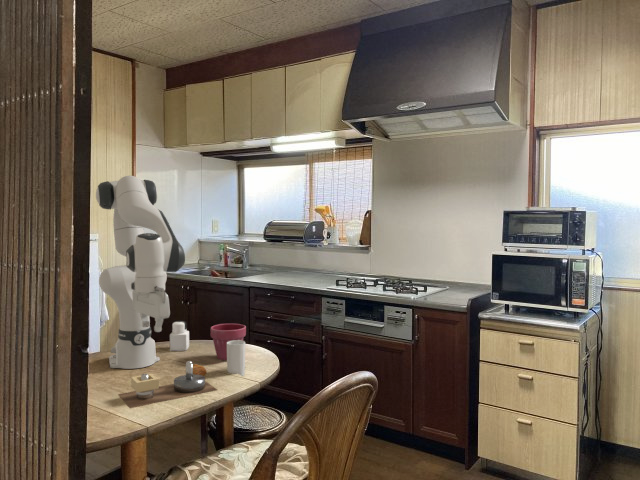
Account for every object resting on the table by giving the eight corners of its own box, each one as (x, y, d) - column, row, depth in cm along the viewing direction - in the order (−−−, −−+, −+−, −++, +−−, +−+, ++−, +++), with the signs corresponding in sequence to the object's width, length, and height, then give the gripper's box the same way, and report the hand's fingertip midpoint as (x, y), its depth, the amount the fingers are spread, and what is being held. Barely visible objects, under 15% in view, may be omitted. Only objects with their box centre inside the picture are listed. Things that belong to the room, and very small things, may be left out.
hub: (169, 386, 173) (169, 359, 172) (198, 381, 179) (198, 355, 178) (180, 395, 165) (179, 367, 164) (209, 389, 170) (209, 362, 170)
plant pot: (232, 350, 223) (232, 321, 222) (253, 357, 213) (252, 326, 212) (203, 357, 212) (203, 326, 212) (224, 364, 203) (223, 332, 202)
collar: (131, 386, 164) (131, 377, 164) (152, 382, 168) (152, 373, 168) (137, 392, 159) (137, 382, 158) (158, 388, 162) (158, 379, 162)
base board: (118, 398, 165) (118, 394, 165) (201, 382, 181) (201, 378, 181) (129, 413, 154) (129, 408, 154) (217, 394, 170) (217, 389, 170)
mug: (242, 378, 186) (241, 345, 186) (224, 377, 188) (223, 344, 187) (250, 369, 196) (250, 338, 196) (233, 368, 198) (233, 337, 197)
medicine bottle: (172, 346, 229) (172, 319, 228) (189, 346, 229) (189, 319, 229) (169, 351, 222) (169, 323, 221) (186, 350, 222) (186, 323, 222)
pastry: (211, 379, 186) (211, 368, 185) (193, 382, 182) (192, 372, 182) (202, 372, 194) (202, 362, 193) (184, 375, 190) (184, 365, 190)
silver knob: (134, 396, 164) (134, 374, 164) (150, 392, 167) (150, 371, 167) (139, 401, 160) (138, 378, 159) (155, 397, 163) (155, 375, 162)
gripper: (174, 287, 156) (175, 332, 157) (147, 281, 172) (148, 323, 172) (154, 289, 152) (155, 336, 153) (128, 283, 168) (129, 326, 168)
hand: (151, 329), depth 163 cm, fingers open, 8 cm apart
